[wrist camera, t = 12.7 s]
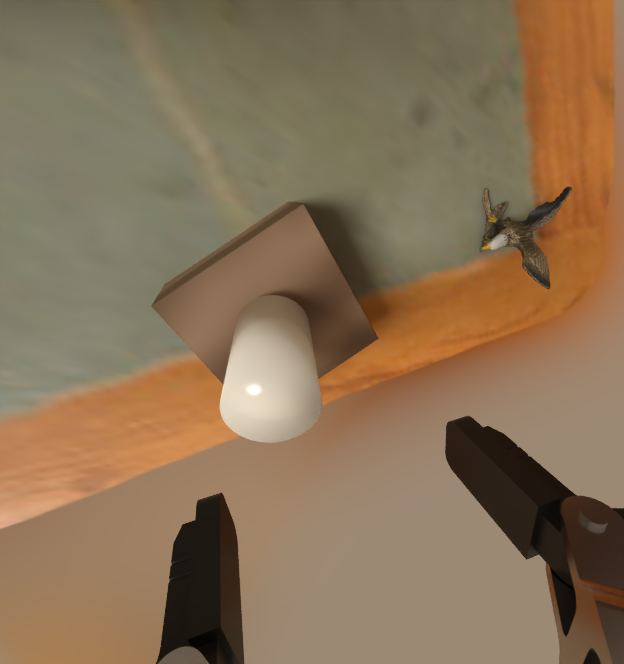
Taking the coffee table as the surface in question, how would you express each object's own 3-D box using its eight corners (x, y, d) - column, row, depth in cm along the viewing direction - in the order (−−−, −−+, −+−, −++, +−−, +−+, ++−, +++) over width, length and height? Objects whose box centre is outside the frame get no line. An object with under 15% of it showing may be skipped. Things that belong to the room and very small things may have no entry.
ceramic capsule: (222, 312, 23) (199, 391, 16) (291, 283, 22) (298, 352, 15) (256, 366, 25) (249, 453, 19) (319, 342, 25) (336, 423, 18)
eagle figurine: (447, 210, 30) (528, 216, 22) (512, 171, 31) (617, 164, 23) (466, 280, 34) (542, 307, 26) (525, 245, 34) (619, 262, 26)
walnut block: (164, 283, 27) (151, 306, 22) (287, 202, 27) (303, 203, 22) (250, 382, 32) (256, 420, 27) (352, 314, 32) (378, 338, 27)
